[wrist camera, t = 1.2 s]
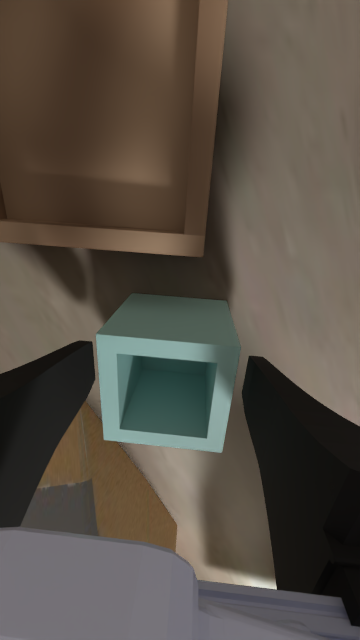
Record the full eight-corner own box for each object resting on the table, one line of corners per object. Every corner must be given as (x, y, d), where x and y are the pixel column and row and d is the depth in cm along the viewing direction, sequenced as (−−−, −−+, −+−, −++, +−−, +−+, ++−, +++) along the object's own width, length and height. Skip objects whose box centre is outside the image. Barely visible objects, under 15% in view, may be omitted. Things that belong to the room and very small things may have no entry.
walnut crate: (232, -63, 8) (244, -170, 6) (202, 249, 12) (203, 257, 10) (-58, -69, 9) (-149, -170, 6) (3, 234, 13) (-41, 238, 10)
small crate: (226, 300, 13) (240, 347, 8) (215, 380, 15) (222, 452, 10) (131, 292, 13) (95, 334, 9) (132, 372, 15) (103, 439, 11)
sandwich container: (80, 385, 16) (-605, 1358, 2) (181, 524, 21) (147, 1110, 7) (-17, 422, 18) (-702, 1080, 4) (97, 541, 23) (-57, 1030, 9)
